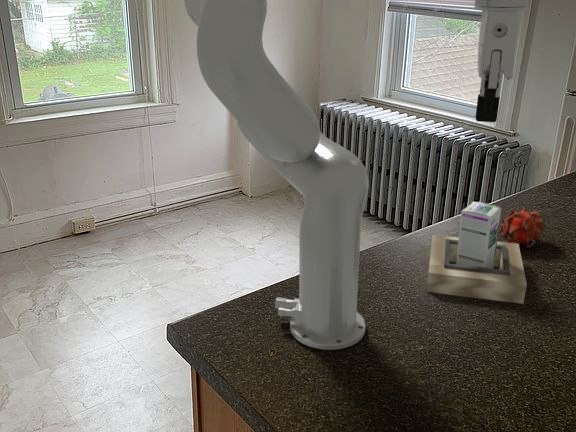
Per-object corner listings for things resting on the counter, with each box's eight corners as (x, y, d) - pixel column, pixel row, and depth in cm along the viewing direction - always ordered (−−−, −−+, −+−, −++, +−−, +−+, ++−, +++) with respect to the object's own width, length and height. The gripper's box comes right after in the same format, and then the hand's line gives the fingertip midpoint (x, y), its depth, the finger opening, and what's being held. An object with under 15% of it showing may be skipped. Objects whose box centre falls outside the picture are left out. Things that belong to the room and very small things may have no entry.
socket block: (426, 291, 111) (428, 269, 109) (430, 251, 126) (432, 232, 124) (523, 303, 107) (527, 281, 105) (515, 261, 122) (518, 240, 120)
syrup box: (482, 286, 112) (492, 216, 106) (453, 277, 115) (461, 209, 110) (493, 275, 116) (503, 206, 111) (464, 266, 120) (472, 199, 114)
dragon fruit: (539, 243, 133) (506, 265, 127) (513, 214, 135) (480, 234, 130) (563, 224, 126) (529, 246, 120) (535, 193, 128) (501, 214, 123)
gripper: (533, 3, 81) (514, 134, 88) (523, -3, 94) (507, 111, 101) (476, 2, 83) (461, 131, 90) (474, -4, 96) (461, 108, 103)
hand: (485, 120), depth 96 cm, fingers closed
